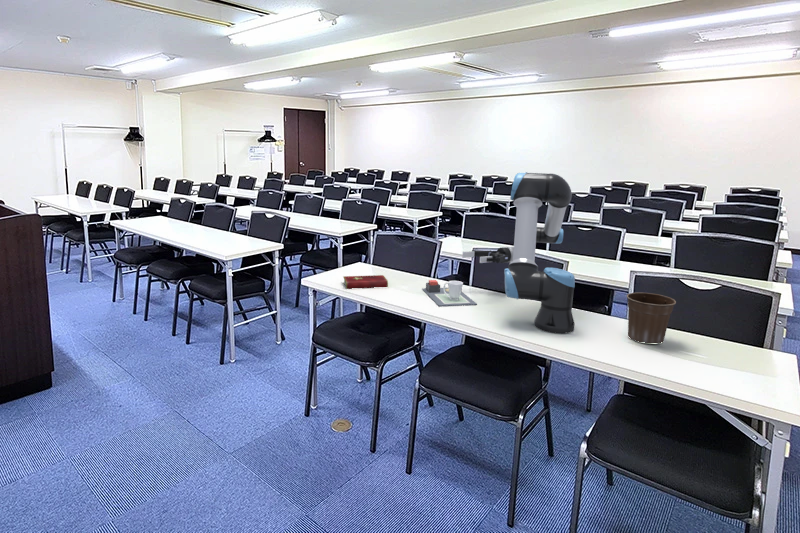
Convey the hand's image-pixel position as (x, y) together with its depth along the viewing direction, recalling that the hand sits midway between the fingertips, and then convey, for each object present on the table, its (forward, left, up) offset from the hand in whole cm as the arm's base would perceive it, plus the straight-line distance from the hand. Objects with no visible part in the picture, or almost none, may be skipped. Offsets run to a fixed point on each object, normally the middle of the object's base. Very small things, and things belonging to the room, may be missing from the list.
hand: (471, 257), depth 223 cm
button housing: (+11, +15, -20) cm, 27 cm away
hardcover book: (+28, +45, -20) cm, 57 cm away
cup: (-3, +9, -19) cm, 21 cm away
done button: (+11, +15, -17) cm, 25 cm away
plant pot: (-61, -47, -20) cm, 80 cm away
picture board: (+2, +10, -20) cm, 22 cm away
